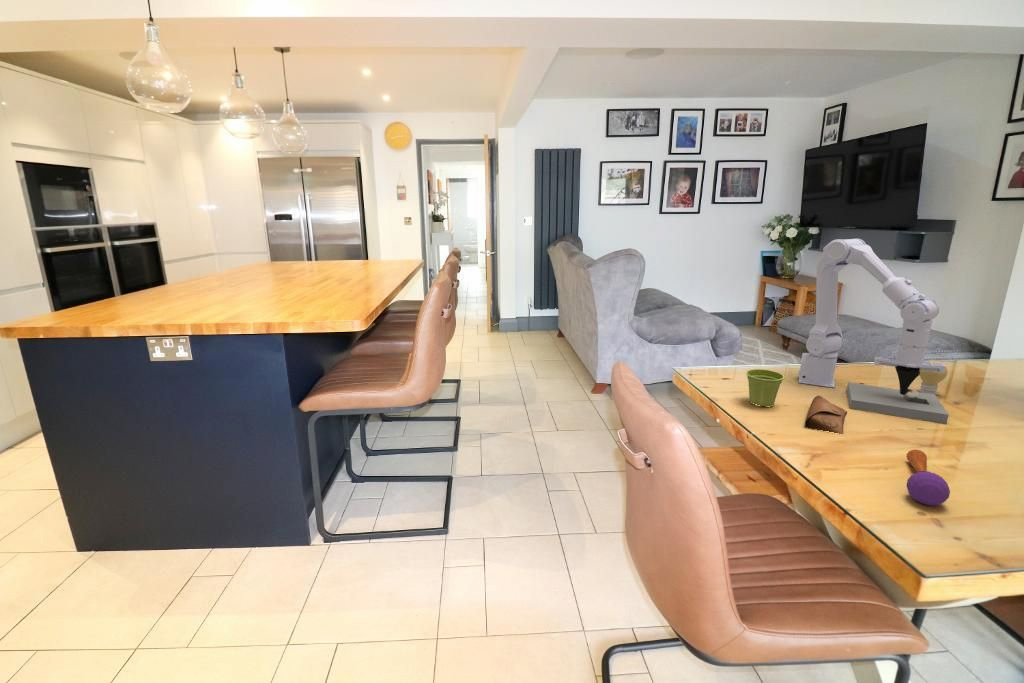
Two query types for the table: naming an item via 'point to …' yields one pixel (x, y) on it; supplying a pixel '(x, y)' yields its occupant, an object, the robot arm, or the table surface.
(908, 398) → the steel ball
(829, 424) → the sunglasses case
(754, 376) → the plant pot
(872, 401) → the hole deck
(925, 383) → the light bulb
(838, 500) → the table surface
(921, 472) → the purple maraca
